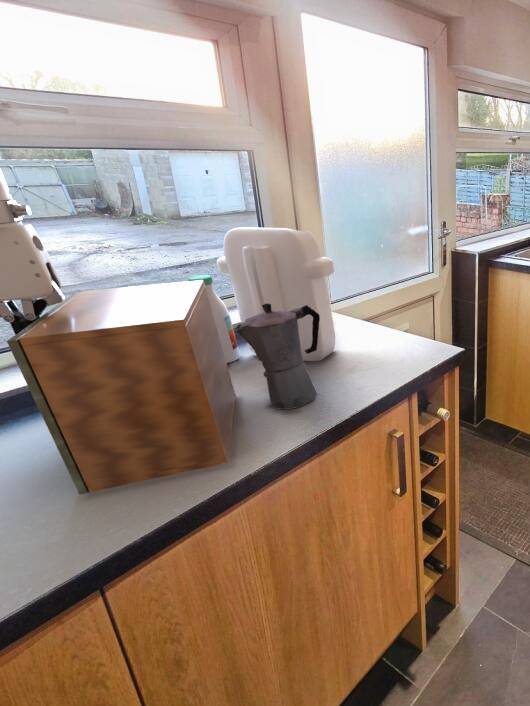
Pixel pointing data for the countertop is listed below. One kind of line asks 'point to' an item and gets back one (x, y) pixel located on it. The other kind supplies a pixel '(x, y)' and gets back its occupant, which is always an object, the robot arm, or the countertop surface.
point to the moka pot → (282, 353)
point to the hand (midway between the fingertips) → (35, 344)
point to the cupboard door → (42, 401)
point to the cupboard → (136, 381)
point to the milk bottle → (221, 320)
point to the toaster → (280, 279)
